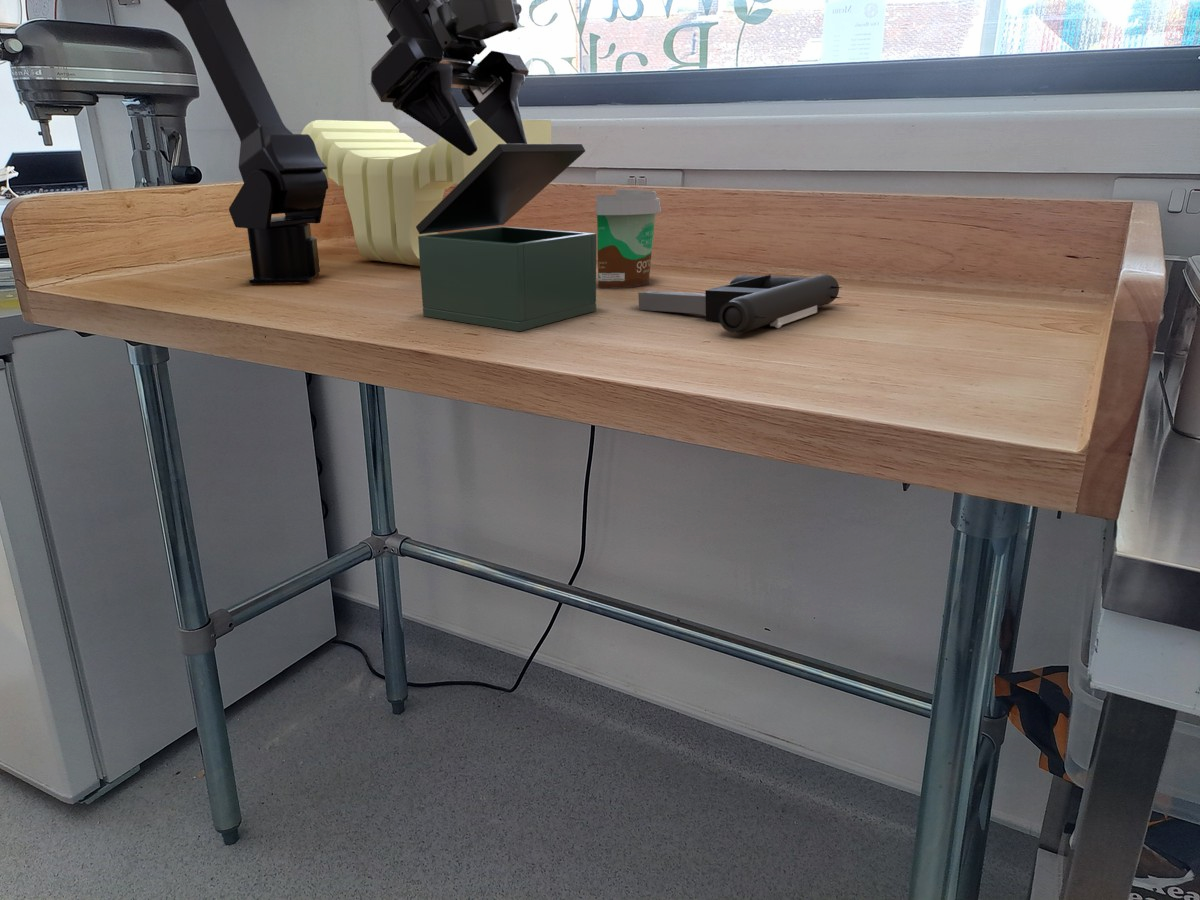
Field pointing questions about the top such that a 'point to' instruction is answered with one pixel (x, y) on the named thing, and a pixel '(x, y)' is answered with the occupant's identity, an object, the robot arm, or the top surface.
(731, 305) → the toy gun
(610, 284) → the food container
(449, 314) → the box
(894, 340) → the top surface
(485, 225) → the box lid
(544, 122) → the slatted curved stool
